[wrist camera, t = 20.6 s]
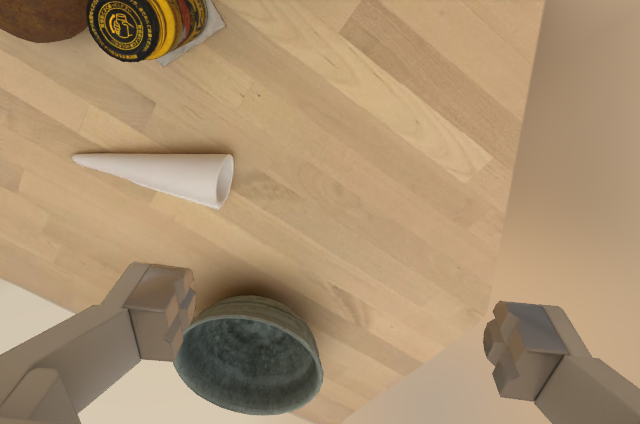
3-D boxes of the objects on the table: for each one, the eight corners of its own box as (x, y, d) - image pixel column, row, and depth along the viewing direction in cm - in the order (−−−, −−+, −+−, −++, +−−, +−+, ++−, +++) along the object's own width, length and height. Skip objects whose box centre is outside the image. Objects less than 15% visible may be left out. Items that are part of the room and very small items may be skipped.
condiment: (226, 24, 40) (184, 46, 30) (163, 67, 42) (104, 100, 32) (179, -52, 37) (113, -56, 26) (114, -1, 39) (31, 12, 29)
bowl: (330, 361, 66) (327, 419, 58) (209, 359, 68) (189, 415, 60) (323, 265, 55) (318, 319, 47) (178, 265, 57) (149, 318, 49)
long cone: (78, 105, 47) (235, 145, 46) (88, 152, 51) (233, 189, 50) (43, 126, 43) (215, 170, 42) (57, 175, 47) (215, 216, 46)
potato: (115, 41, 41) (76, 54, 35) (7, 33, 42) (-49, 44, 36) (100, -36, 38) (53, -35, 32) (-19, -44, 38) (-87, -45, 32)
